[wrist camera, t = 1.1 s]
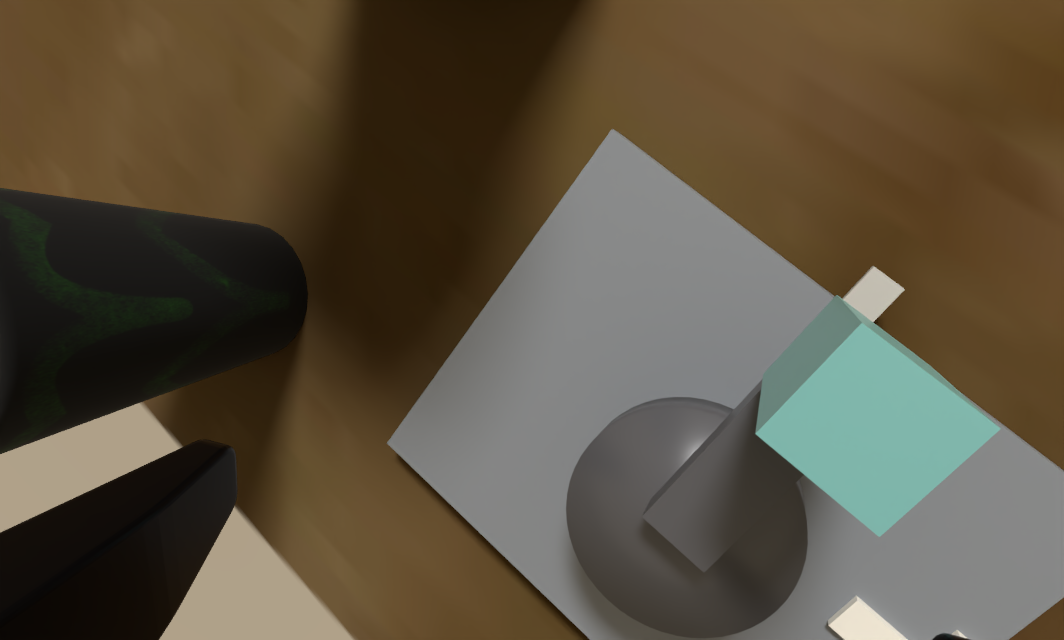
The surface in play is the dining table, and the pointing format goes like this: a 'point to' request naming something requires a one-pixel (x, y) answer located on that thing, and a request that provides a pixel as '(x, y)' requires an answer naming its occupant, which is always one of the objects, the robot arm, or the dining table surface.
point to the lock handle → (762, 476)
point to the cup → (129, 306)
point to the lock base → (719, 376)
